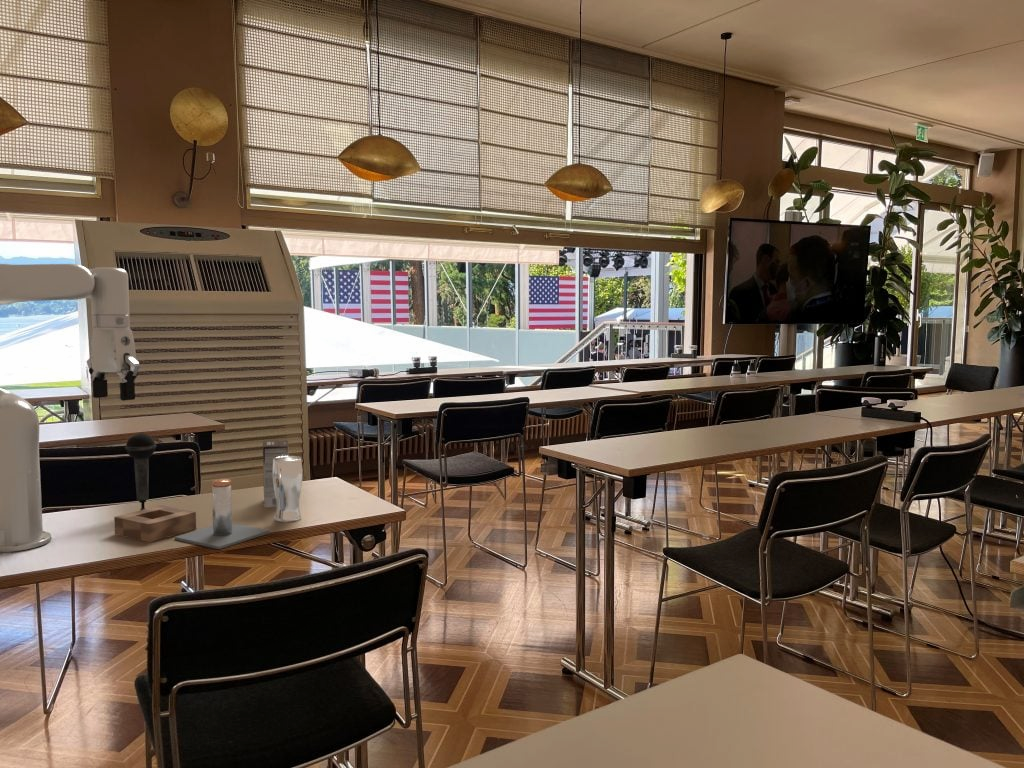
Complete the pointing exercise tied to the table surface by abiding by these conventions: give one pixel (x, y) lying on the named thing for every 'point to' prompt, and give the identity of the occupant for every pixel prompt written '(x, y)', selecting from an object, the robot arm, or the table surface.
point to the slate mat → (219, 542)
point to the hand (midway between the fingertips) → (114, 398)
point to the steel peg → (222, 507)
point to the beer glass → (287, 487)
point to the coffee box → (271, 468)
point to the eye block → (155, 523)
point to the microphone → (141, 463)
